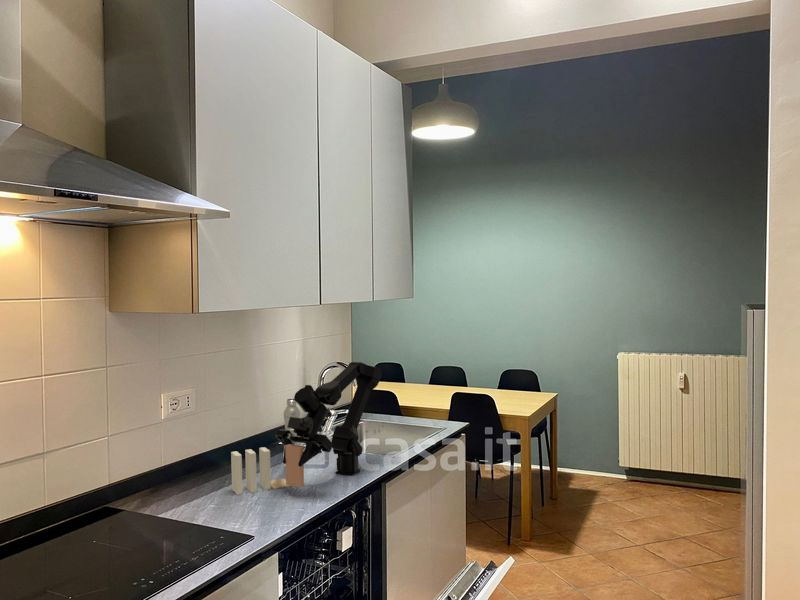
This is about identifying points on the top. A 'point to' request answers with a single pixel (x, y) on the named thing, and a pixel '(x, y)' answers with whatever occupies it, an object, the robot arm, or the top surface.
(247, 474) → the ivory domino
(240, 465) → the ivory domino
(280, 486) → the birch pad
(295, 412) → the plastic bottle
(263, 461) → the ivory domino
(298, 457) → the terracotta domino
